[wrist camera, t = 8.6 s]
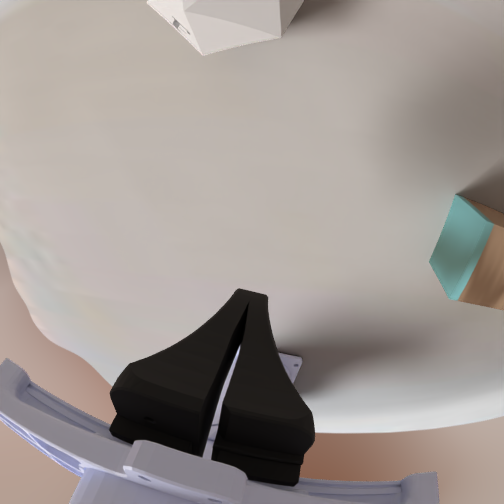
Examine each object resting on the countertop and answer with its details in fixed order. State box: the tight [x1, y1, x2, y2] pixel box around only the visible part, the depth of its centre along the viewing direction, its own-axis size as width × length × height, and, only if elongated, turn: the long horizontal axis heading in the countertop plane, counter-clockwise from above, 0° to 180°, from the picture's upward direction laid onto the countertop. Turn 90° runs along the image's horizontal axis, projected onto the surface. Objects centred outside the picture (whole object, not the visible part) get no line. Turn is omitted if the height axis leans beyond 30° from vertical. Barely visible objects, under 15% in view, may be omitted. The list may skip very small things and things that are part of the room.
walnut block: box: [429, 194, 504, 310], centre depth 17 cm, size 6×5×10 cm
